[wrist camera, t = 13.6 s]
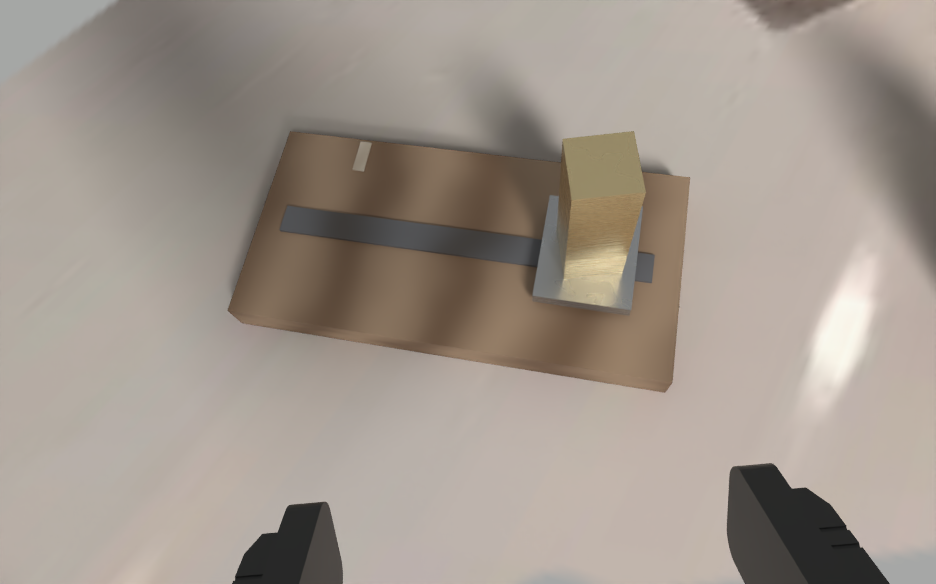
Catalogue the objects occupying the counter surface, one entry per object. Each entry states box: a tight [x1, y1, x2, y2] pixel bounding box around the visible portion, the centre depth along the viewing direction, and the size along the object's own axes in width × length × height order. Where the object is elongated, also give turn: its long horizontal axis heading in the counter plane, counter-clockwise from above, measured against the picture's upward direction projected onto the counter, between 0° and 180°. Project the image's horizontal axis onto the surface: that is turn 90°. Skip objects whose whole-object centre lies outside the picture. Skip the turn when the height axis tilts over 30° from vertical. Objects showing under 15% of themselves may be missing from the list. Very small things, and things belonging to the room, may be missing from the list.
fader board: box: [228, 131, 690, 392], centre depth 38 cm, size 24×12×2 cm, turn 79°
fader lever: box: [532, 131, 646, 316], centre depth 32 cm, size 5×6×9 cm
